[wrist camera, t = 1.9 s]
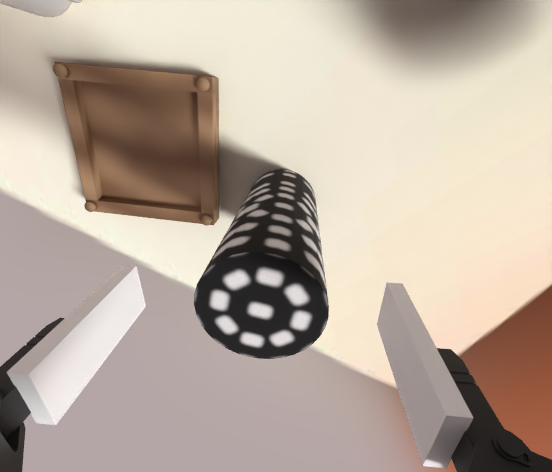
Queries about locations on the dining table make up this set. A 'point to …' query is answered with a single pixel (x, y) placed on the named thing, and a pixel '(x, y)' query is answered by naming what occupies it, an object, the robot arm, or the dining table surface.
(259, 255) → the white-spotted black cylinder
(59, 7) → the cup
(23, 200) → the dining table surface
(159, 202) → the wooden tray
